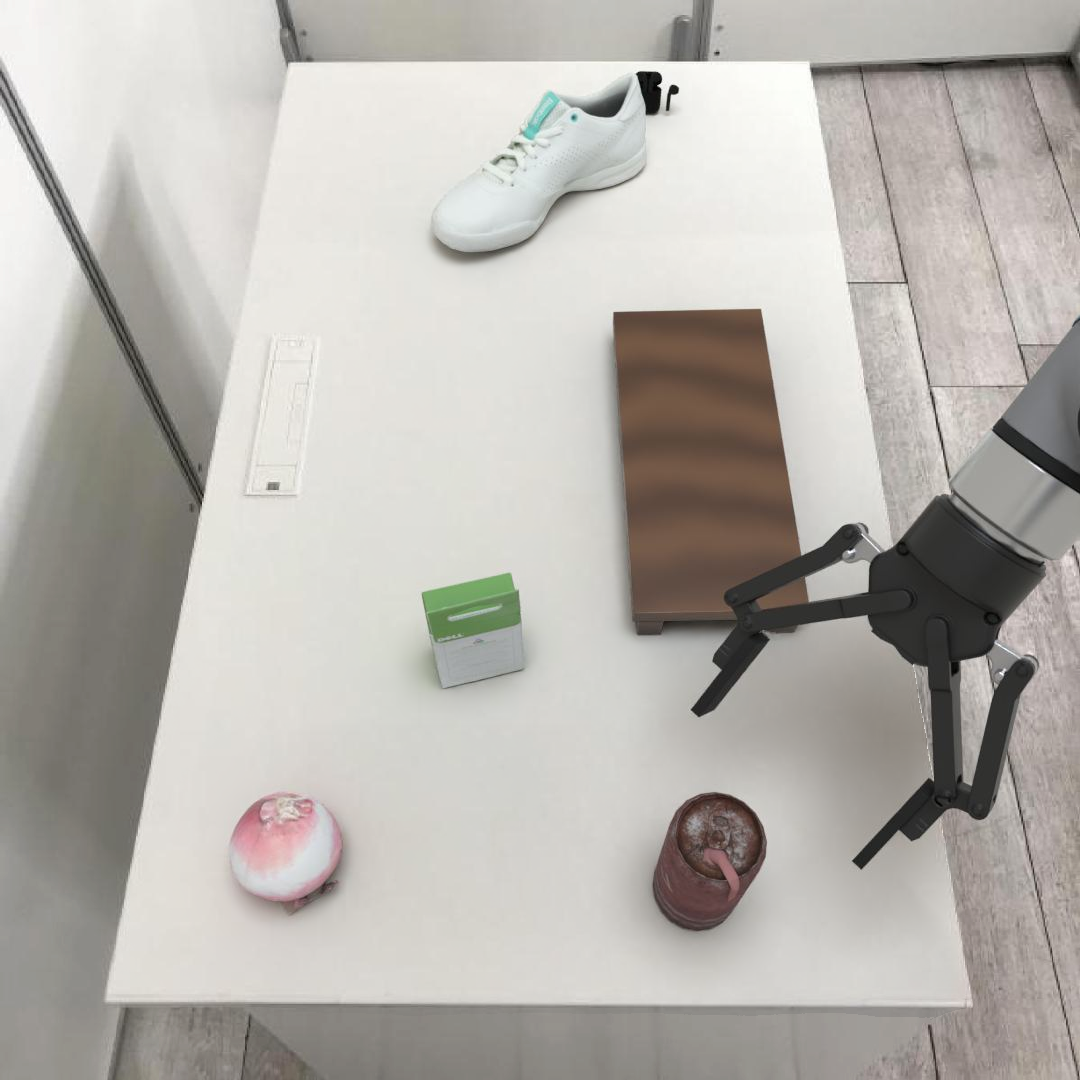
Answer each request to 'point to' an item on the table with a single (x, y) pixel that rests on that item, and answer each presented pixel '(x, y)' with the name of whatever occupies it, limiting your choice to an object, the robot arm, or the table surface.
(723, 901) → the can
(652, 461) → the shelf
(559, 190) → the running shoe
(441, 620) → the ink box
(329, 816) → the onion
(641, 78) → the wireless earbuds
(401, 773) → the table surface
